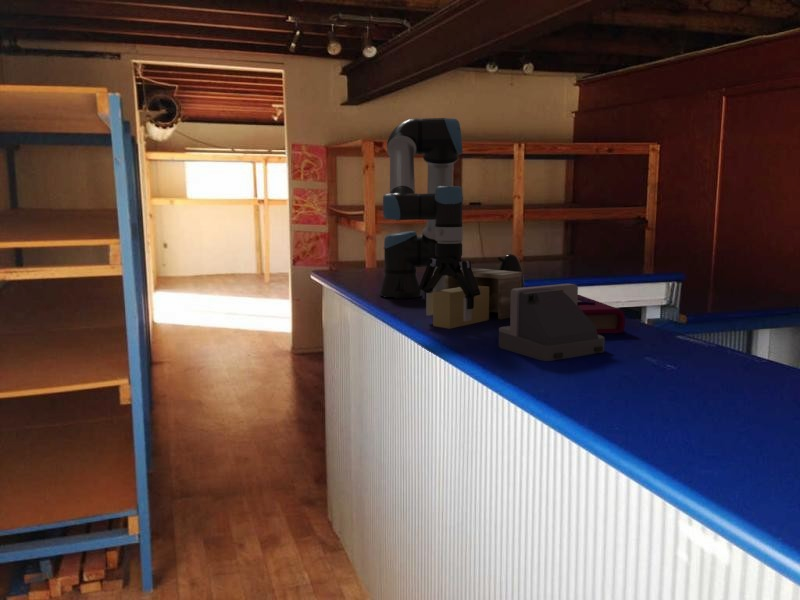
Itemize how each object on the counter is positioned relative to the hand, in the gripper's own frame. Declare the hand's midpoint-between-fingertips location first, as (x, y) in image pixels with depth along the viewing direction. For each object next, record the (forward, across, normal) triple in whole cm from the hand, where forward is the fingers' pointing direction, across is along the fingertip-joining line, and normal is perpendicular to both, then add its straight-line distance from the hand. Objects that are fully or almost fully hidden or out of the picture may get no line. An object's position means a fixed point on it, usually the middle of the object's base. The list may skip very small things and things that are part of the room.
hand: (448, 317), depth 194 cm
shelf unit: (+2, -5, +22) cm, 23 cm away
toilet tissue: (+2, -42, +51) cm, 66 cm away
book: (+3, +24, +22) cm, 33 cm away
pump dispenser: (+2, -20, +59) cm, 62 cm away
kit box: (+2, 0, +6) cm, 6 cm away
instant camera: (+3, +38, -7) cm, 38 cm away
